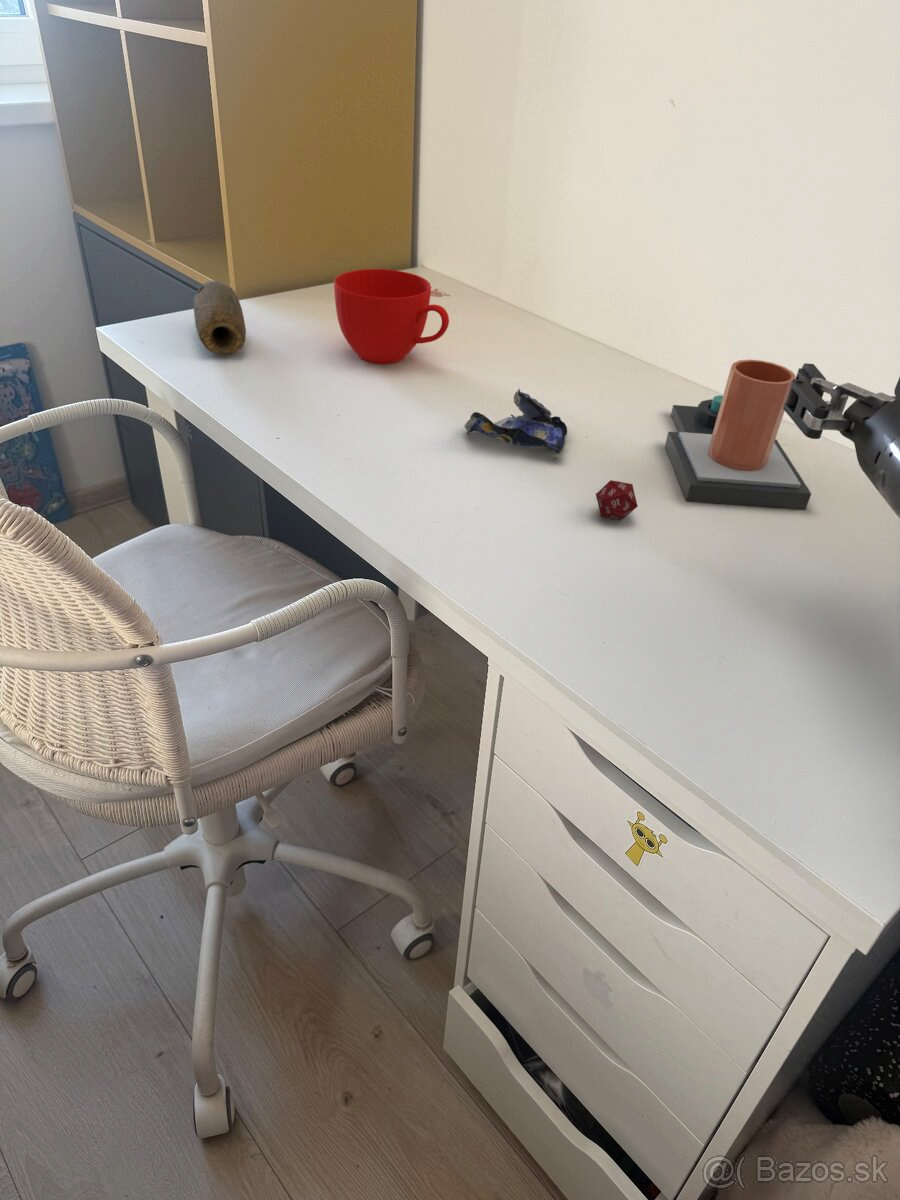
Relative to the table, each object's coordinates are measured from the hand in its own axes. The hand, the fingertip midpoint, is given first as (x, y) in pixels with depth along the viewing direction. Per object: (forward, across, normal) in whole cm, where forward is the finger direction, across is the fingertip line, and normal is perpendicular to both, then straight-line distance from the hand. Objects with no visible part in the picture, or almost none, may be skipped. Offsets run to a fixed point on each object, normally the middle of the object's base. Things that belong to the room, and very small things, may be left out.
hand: (852, 377), depth 72 cm
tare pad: (+27, +1, +18) cm, 32 cm away
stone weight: (+45, +68, +18) cm, 83 cm away
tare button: (+27, +1, +15) cm, 31 cm away
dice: (+4, +17, +18) cm, 25 cm away
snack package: (+20, +26, +18) cm, 37 cm away
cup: (+15, +2, +16) cm, 22 cm away
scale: (+15, +2, +18) cm, 23 cm away
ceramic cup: (+43, +43, +18) cm, 63 cm away
